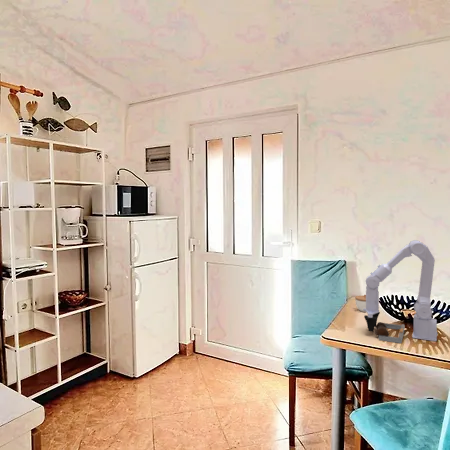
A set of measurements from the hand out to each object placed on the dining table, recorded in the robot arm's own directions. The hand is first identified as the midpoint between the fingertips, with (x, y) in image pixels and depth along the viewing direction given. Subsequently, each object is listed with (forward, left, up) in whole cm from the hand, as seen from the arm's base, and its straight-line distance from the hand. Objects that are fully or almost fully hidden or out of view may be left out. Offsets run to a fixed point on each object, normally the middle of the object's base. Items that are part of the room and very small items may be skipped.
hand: (372, 328), depth 172 cm
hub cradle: (-8, 0, -1) cm, 8 cm away
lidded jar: (+9, -38, -2) cm, 39 cm away
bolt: (-4, +1, -2) cm, 5 cm away
